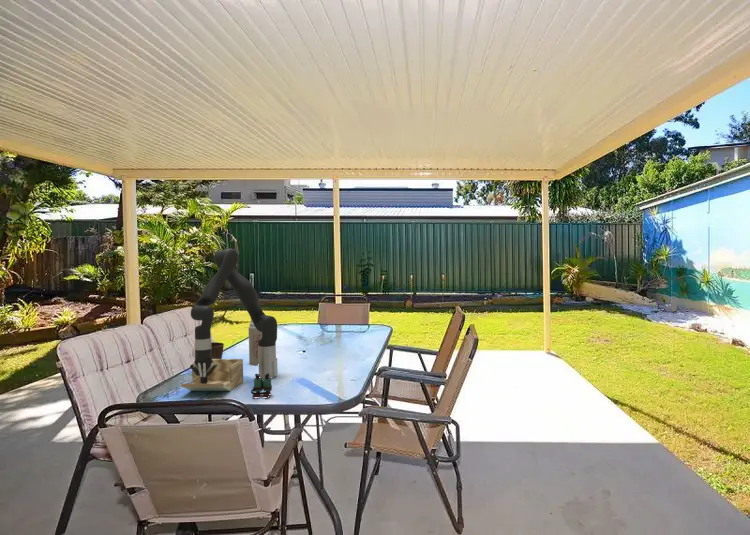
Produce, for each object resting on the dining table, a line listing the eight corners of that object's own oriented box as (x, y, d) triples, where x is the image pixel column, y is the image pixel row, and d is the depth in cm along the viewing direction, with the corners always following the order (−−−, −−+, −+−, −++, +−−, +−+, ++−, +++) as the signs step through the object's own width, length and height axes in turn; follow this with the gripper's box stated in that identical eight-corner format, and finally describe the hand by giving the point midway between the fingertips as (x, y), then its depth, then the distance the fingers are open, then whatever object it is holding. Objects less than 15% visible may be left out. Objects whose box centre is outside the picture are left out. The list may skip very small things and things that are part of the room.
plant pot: (214, 368, 292) (214, 341, 292) (230, 372, 283) (229, 344, 282) (191, 373, 281) (190, 345, 280) (206, 377, 271) (205, 348, 271)
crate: (243, 381, 262) (242, 359, 261) (232, 390, 246) (231, 366, 246) (206, 381, 263) (205, 359, 263) (192, 390, 248) (192, 366, 247)
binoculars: (249, 380, 228) (253, 372, 238) (250, 402, 230) (254, 393, 240) (269, 379, 229) (272, 371, 239) (270, 401, 230) (273, 393, 240)
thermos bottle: (263, 364, 299) (262, 317, 298) (249, 365, 297) (248, 318, 296) (262, 361, 307) (261, 316, 306) (249, 362, 305) (248, 316, 304)
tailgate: (231, 388, 245) (222, 383, 234) (231, 391, 244) (222, 386, 234) (191, 388, 247) (181, 383, 236) (191, 391, 246) (180, 386, 235)
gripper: (219, 346, 240) (220, 382, 241) (193, 346, 241) (194, 382, 242) (213, 349, 233) (214, 386, 233) (185, 349, 234) (187, 386, 235)
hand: (204, 384), depth 238 cm, fingers closed
